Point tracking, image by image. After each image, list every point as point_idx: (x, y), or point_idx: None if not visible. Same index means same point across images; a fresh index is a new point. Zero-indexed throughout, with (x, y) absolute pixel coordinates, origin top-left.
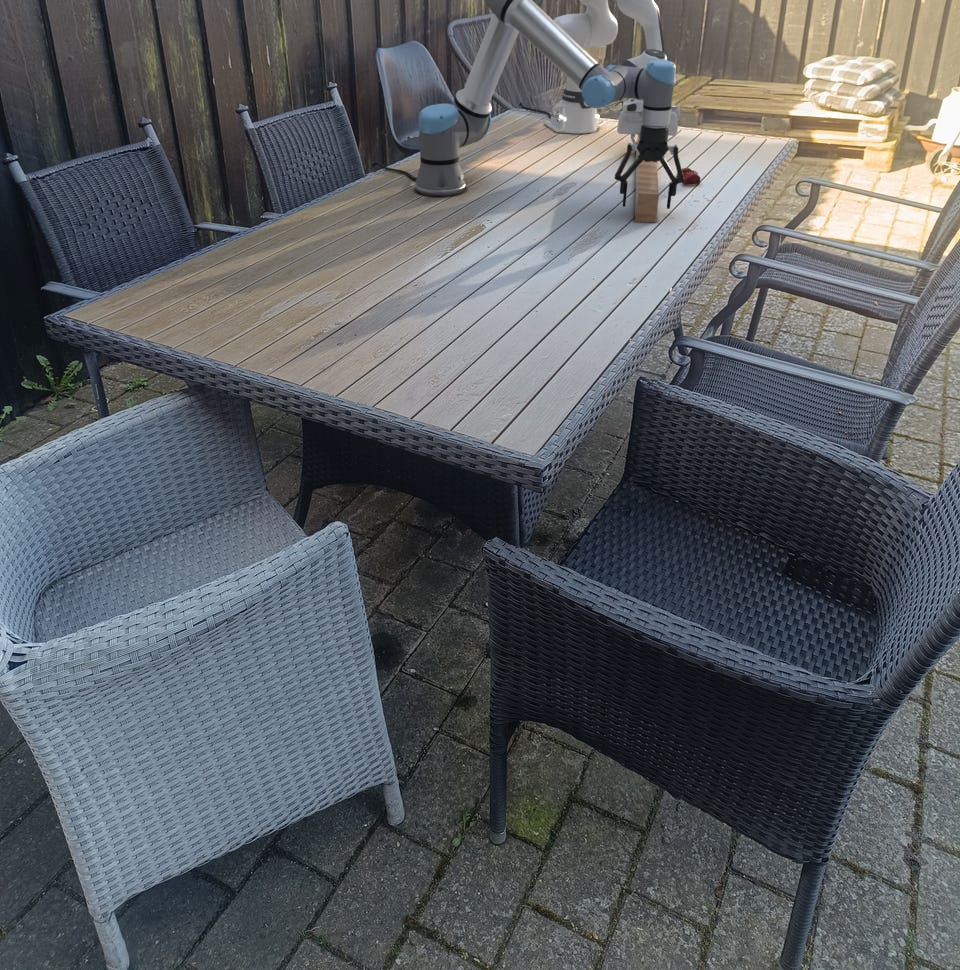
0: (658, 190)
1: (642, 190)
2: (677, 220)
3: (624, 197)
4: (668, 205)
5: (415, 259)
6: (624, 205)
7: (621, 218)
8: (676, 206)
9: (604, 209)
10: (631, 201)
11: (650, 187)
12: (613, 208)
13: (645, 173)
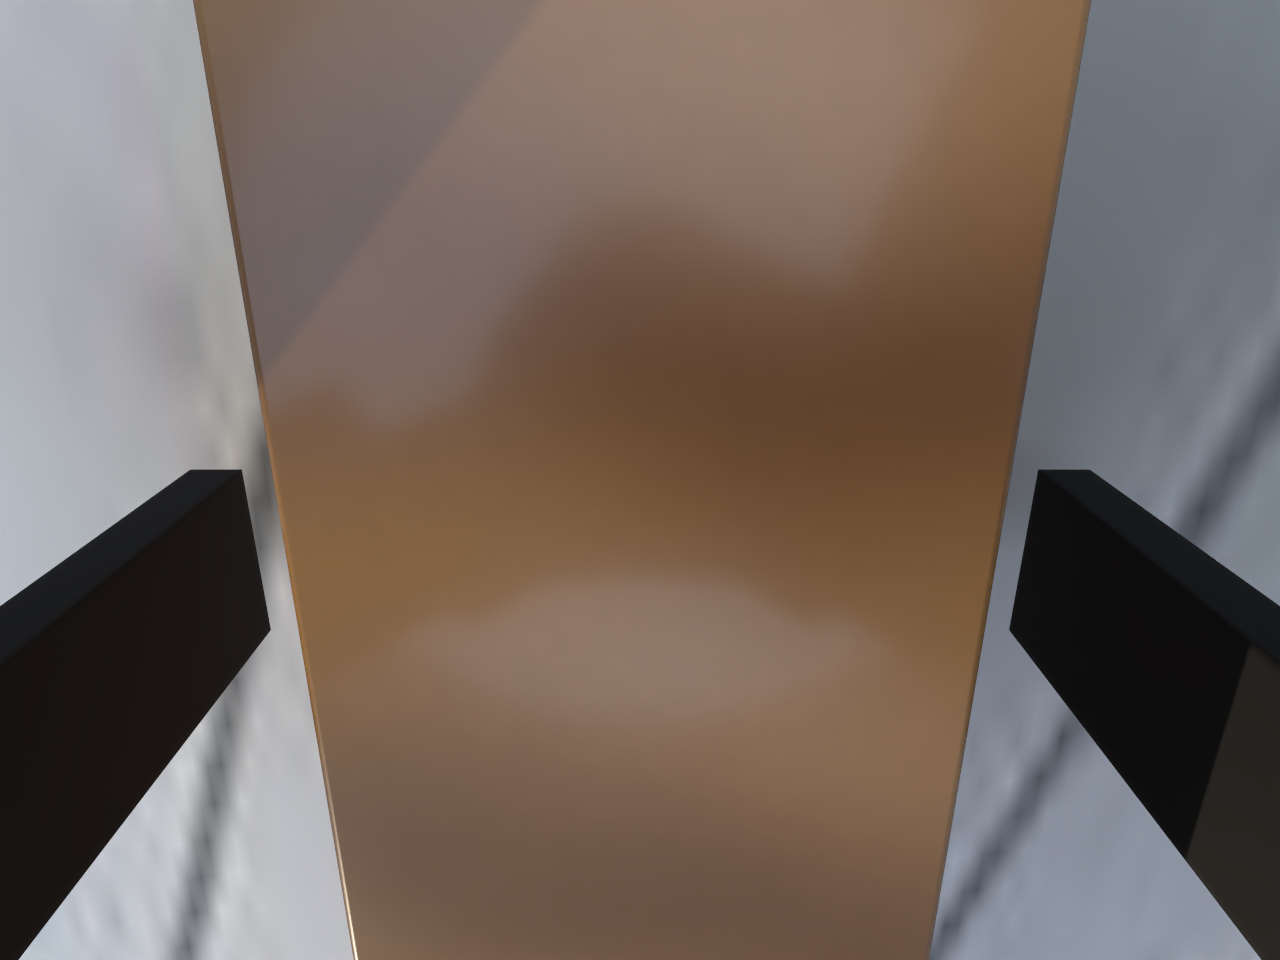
0: (262, 392)
1: (876, 298)
2: (66, 221)
3: (1171, 549)
4: (191, 494)
5: None
6: (1067, 476)
7: (1074, 178)
8: (206, 851)
9: (1273, 601)
10: None
11: (570, 678)
12: None
13: None
